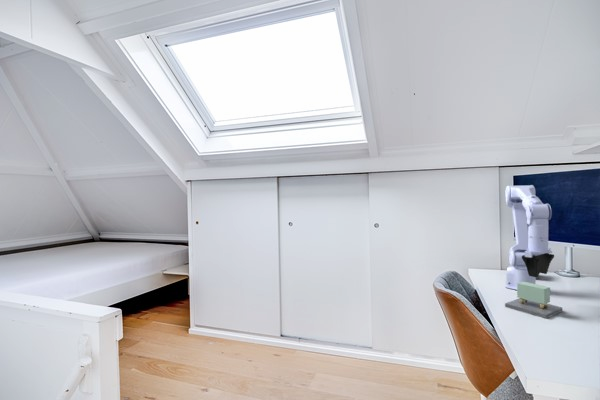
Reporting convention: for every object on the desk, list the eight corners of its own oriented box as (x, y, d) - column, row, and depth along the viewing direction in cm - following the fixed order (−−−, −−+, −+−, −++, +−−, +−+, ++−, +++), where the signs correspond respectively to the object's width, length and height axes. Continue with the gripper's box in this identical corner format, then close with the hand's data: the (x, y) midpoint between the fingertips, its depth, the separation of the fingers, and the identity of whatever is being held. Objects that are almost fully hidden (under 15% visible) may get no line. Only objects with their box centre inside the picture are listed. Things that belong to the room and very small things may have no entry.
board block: (517, 297, 108) (517, 283, 108) (523, 295, 110) (523, 281, 110) (544, 304, 101) (544, 289, 101) (549, 302, 103) (549, 287, 103)
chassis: (505, 306, 108) (505, 297, 108) (522, 300, 114) (522, 291, 114) (545, 318, 98) (545, 308, 98) (562, 310, 104) (562, 301, 104)
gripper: (541, 240, 104) (541, 280, 104) (560, 237, 111) (560, 274, 111) (518, 238, 110) (518, 275, 110) (538, 234, 117) (537, 270, 117)
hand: (537, 274), depth 111 cm, fingers open, 7 cm apart
